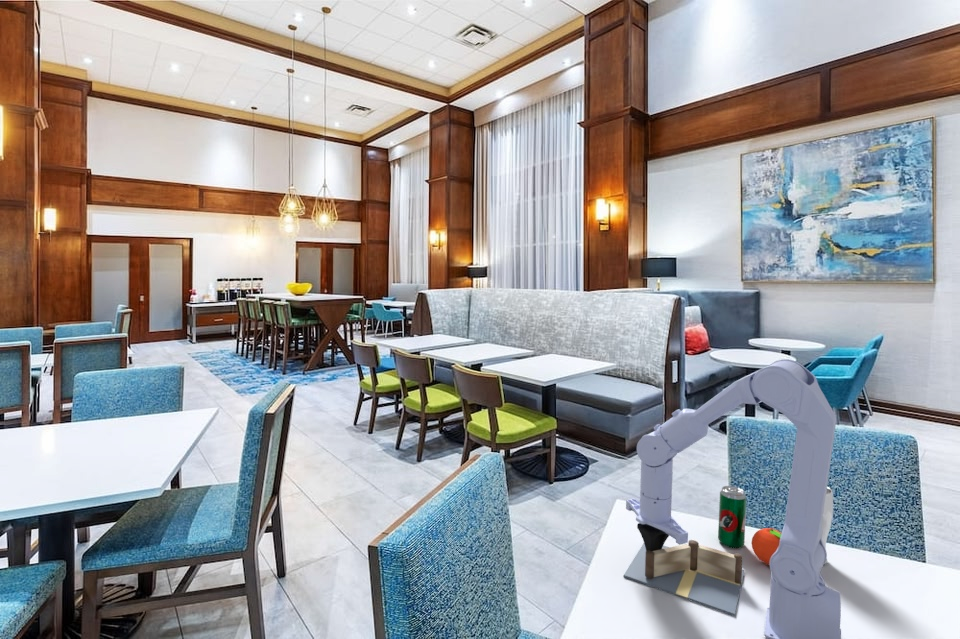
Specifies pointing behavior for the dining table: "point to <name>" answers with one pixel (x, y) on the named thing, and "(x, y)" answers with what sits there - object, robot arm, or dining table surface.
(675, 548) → the panel
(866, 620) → the dining table surface
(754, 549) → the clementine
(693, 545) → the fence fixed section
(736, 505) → the soda can
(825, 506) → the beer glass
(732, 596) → the card
